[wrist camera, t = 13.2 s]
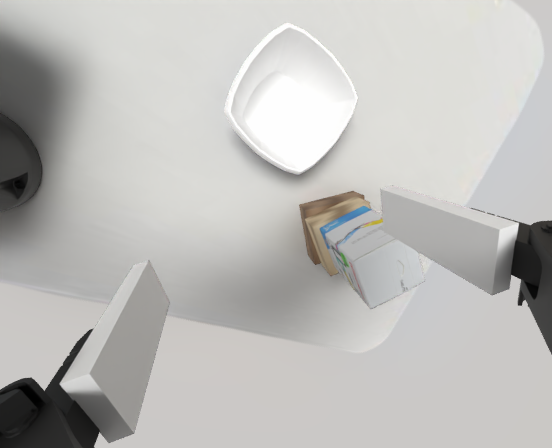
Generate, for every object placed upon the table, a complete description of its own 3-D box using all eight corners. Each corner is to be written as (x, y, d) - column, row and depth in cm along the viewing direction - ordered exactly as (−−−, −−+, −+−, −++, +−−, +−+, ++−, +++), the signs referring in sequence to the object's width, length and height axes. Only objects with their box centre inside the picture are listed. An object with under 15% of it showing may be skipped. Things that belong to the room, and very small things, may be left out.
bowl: (284, 177, 46) (302, 189, 36) (211, 119, 41) (207, 114, 30) (339, 106, 44) (375, 96, 33) (270, 34, 38) (287, -3, 28)
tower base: (307, 254, 52) (314, 264, 48) (298, 204, 48) (305, 210, 44) (357, 240, 53) (368, 249, 49) (352, 190, 50) (364, 195, 45)
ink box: (317, 227, 41) (351, 260, 30) (364, 204, 41) (415, 228, 30) (334, 268, 44) (371, 312, 33) (378, 246, 44) (428, 282, 33)
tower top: (321, 264, 48) (330, 276, 44) (304, 219, 45) (313, 227, 40) (368, 242, 49) (382, 252, 45) (355, 196, 45) (369, 202, 41)
